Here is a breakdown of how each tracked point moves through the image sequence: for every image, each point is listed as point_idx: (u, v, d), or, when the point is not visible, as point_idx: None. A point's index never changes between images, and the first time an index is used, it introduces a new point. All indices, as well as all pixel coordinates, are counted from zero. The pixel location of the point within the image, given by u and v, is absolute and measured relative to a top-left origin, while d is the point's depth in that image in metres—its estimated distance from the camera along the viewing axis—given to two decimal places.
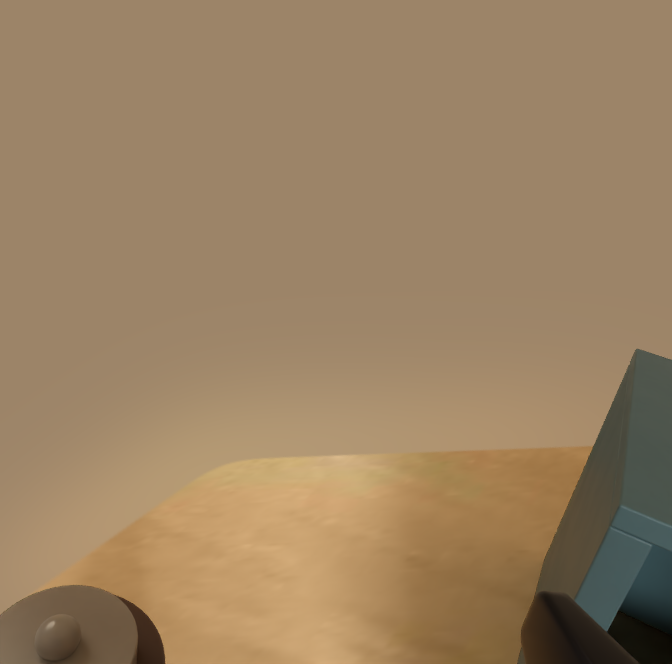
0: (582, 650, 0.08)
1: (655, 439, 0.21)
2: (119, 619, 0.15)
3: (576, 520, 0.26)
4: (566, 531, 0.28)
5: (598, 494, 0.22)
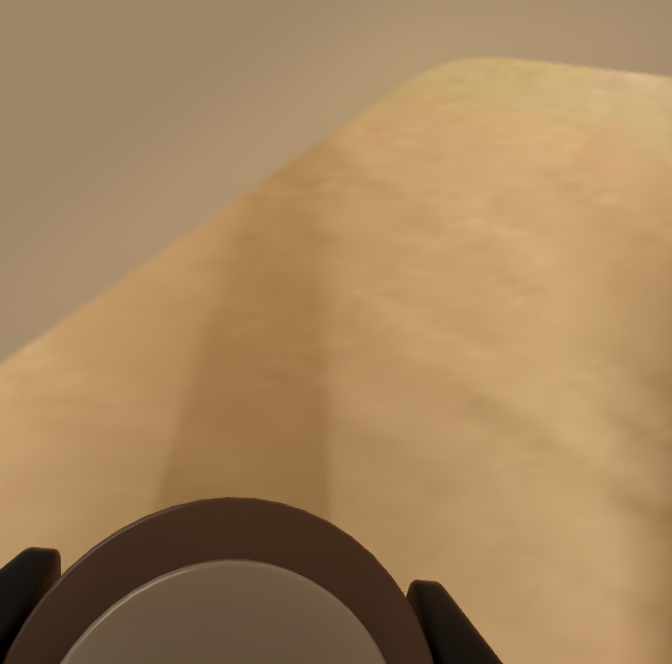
0: (438, 639, 0.08)
1: None
2: None
3: None
4: None
5: None
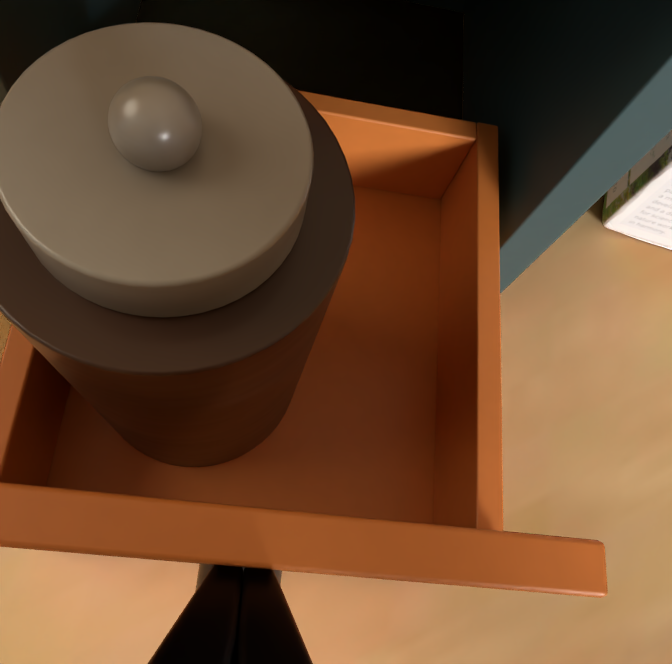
0: (245, 625, 0.07)
1: None
2: (281, 125, 0.07)
3: None
4: None
5: None
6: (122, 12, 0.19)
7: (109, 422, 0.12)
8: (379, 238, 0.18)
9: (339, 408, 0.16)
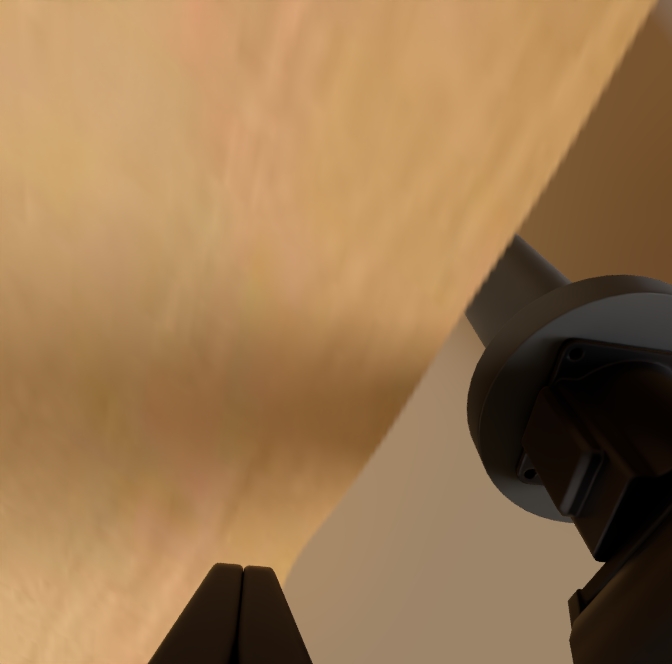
0: (245, 625, 0.07)
1: None
2: None
3: None
4: None
5: None
6: None
7: None
8: None
9: None
